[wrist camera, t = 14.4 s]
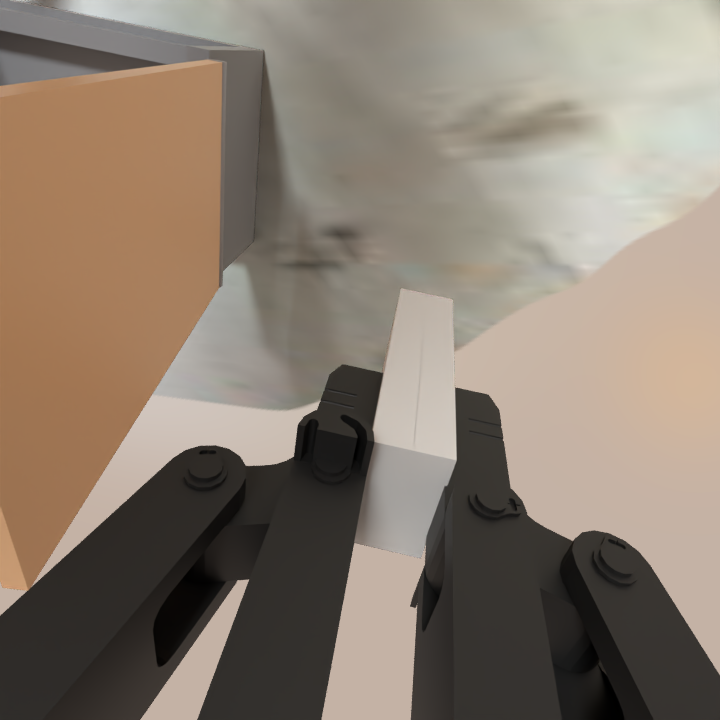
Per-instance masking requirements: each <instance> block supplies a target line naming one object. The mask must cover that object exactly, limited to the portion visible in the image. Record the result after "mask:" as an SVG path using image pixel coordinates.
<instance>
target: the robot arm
mask: <svg viewBox="0 0 720 720" xmlns="http://www.w3.org/2000/svg"><path fill="white" fill-rule="evenodd" d="M354 543H357V544H361V545H366V546H370V547H374V548H378V549H383V550H387V551H391V552H396V553H400V554H404V555H409V556H413V557H417V558H421V556H422V553H423V551H424V548H425V545H426V556H425V566H424V568H423V571H422V574H421V576H420V579H419V582H418V584H417V587H416V590H415V592H414V595H413V598H412V602H411V605H410V606H411V607H414V608H415V607H416V605H417V622H416V639H415V658H414V675H413V692H412V710H411V720H720V675H719V673H718V672H717V670H716V669H715V668H714V666H713V664H712V662H711V661H710V659H709V658H708V656H707V654H706V653H705V651H704V650H703V648H702V647H701V645H700V644H699V642H698V640H697V639H696V637H695V635H694V634H693V632H692V631H691V629H690V628H689V626H688V624H687V623H686V621H685V620H684V618H683V617H682V615H681V613H680V612H679V610H678V609H677V607H676V605H675V604H674V602H673V601H672V599H671V598H670V596H669V594H668V593H667V591H666V590H665V588H664V587H663V585H662V583H661V582H660V580H659V579H658V577H657V575H656V574H655V572H654V571H653V569H652V567H651V566H650V565H649V564H648V562H647V561H646V560H645V559H644V558H643V556H642V555H641V554H640V553H639V552H638V551H637V550H636V549H635V548H633V547H632V546H631V545H629V544H628V543H627V542H626V541H624V540H622V539H620V538H617V537H616V536H613V535H611V534H609V533H604V532H599V531H588V532H582V533H581V534H580V535H579V536H578V537H577V538H575V539H574V541H571V540H569V539H567V538H565V537H563V536H561V535H559V534H557V533H555V532H553V531H551V530H549V529H547V528H545V527H543V526H542V525H540V524H538V523H537V522H535V521H534V520H533V519H531V518H530V517H529V516H528V515H527V512H526V509H525V507H524V504H523V502H522V500H521V499H520V498H519V497H518V496H517V494H516V493H515V492H514V491H513V490H512V489H511V488H510V482H509V475H508V469H507V461H506V454H505V447H504V441H503V433H502V428H501V419H500V413H499V409H498V408H497V406H496V405H495V403H494V402H493V400H492V399H491V398H490V396H489V395H487V394H483V393H478V392H473V391H469V390H464V389H460V388H455V367H454V323H453V299H449V298H445V297H440V296H435V295H431V294H426V293H421V292H416V291H412V290H407V289H402V288H401V289H400V294H399V298H398V303H397V307H396V312H395V316H394V320H393V325H392V329H391V334H390V338H389V343H388V347H387V352H386V356H385V360H384V365H383V370H382V373H380V372H375V371H371V370H366V369H362V368H357V367H353V366H348V365H341V366H340V367H339V368H337V369H336V370H335V371H334V372H332V373H331V374H330V376H329V379H328V381H327V384H326V387H325V391H324V392H323V395H322V398H321V402H320V404H319V406H318V409H317V410H315V411H313V412H311V413H310V414H308V415H306V416H304V417H303V419H302V420H301V421H300V423H299V424H298V428H297V437H296V445H295V453H294V457H293V458H291V459H289V460H287V461H285V462H282V463H279V464H274V465H265V466H245V464H244V462H243V461H242V459H241V457H240V456H238V455H237V454H236V453H234V452H233V451H231V450H230V449H227V448H223V447H219V446H198V447H195V448H191V449H188V450H185V451H183V452H182V453H180V454H179V455H177V456H176V457H174V458H173V459H172V460H171V461H169V462H168V463H167V464H166V465H165V466H164V467H163V468H162V469H161V470H160V471H158V472H157V474H155V475H154V476H153V477H152V478H151V479H150V480H149V481H148V482H147V483H145V484H144V485H143V486H142V487H141V488H140V489H139V490H138V491H137V492H136V493H134V494H133V495H132V496H131V497H130V498H129V499H128V500H127V501H126V502H125V503H123V504H122V505H121V506H120V507H119V508H118V509H117V510H116V511H115V512H114V513H112V514H111V515H110V516H109V517H108V518H107V519H106V520H105V521H104V522H103V523H101V524H100V525H99V526H98V527H97V528H96V529H95V530H94V531H93V532H92V533H90V535H88V536H87V537H86V538H85V539H84V540H83V541H82V542H81V543H80V544H79V545H77V546H76V547H75V548H74V549H73V550H72V551H71V552H70V553H69V554H68V555H66V556H65V557H64V558H63V559H62V560H61V561H60V562H59V563H58V564H56V565H55V566H54V567H53V568H52V569H51V570H50V571H49V572H48V573H47V574H46V575H44V576H43V577H42V578H41V579H40V580H39V581H38V582H37V583H36V584H35V585H33V586H32V587H31V588H30V589H29V590H28V591H27V592H26V593H25V594H24V595H23V596H21V597H20V598H19V599H18V600H17V601H16V602H15V603H14V604H13V605H12V606H10V607H9V609H7V610H6V611H5V612H4V613H3V614H2V615H1V616H0V720H140V719H141V718H142V716H143V715H144V713H145V712H146V711H147V709H148V708H149V706H150V705H151V704H152V702H153V701H154V699H155V698H156V696H157V695H158V694H159V692H160V691H161V689H162V688H163V686H164V685H165V684H166V682H167V681H168V679H169V678H170V676H171V675H172V674H173V672H174V671H175V669H176V668H177V666H178V665H179V664H180V662H181V661H182V659H183V658H184V657H185V655H186V654H187V652H188V651H189V649H190V648H191V647H192V645H193V644H194V642H195V641H196V639H197V638H198V637H199V635H200V634H201V632H202V631H203V629H204V628H205V627H206V625H207V624H208V622H209V621H210V619H211V618H212V617H213V615H214V614H215V612H216V611H217V609H218V608H219V606H220V605H221V604H222V602H223V601H224V599H225V598H226V597H227V595H228V594H229V592H230V591H231V589H232V588H233V586H234V585H235V584H236V582H237V580H246V579H249V582H248V584H247V587H246V590H245V593H244V596H243V598H242V601H241V603H240V606H239V609H238V611H237V614H236V617H235V620H234V622H233V625H232V628H231V630H230V633H229V636H228V638H227V641H226V644H225V646H224V649H223V652H222V655H221V658H220V660H219V663H218V665H217V668H216V671H215V673H214V676H213V679H212V682H211V684H210V687H209V690H208V692H207V695H206V698H205V700H204V703H203V706H202V709H201V711H200V714H199V717H198V719H197V720H321V717H322V712H323V707H324V702H325V697H326V691H327V686H328V681H329V675H330V670H331V664H332V659H333V653H334V648H335V643H336V638H337V632H338V627H339V621H340V616H341V610H342V605H343V600H344V594H345V588H346V584H347V578H348V573H349V568H350V562H351V557H352V551H353V546H354ZM417 603H418V604H417Z"/></svg>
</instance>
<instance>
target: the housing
mask: <svg viewBox="0 0 720 720" xmlns="http://www.w3.org/2000/svg"><path fill="white" fill-rule="evenodd" d="M263 56H264V51H263V50H258V49H254V48H249V47H244V46H239V45H234V44H229V43H224V42H219V41H214V40H209V39H204V38H199V37H194V36H189V35H184V34H179V33H174V32H170V31H165V30H160V29H155V28H150V27H145V26H140V25H135V24H130V23H125V22H120V21H115V20H110V19H105V18H100V17H95V16H90V15H86V14H81V13H76V12H71V11H66V10H61V9H56V8H51V7H46V6H41V5H36V4H31V3H26V2H21V1H16V0H0V86H4V85H11V84H19V83H27V82H35V81H43V80H51V79H58V78H66V77H74V76H82V75H90V74H98V73H106V72H113V71H121V70H129V69H137V68H145V67H153V66H160V65H168V64H176V63H184V62H192V61H200V60H207V59H215V60H220V61H225V62H227V67H226V121H225V175H224V228H223V270H225V269H226V268H227V267H228V266H229V265H230V264H231V263H232V262H233V261H234V260H235V259H236V258H237V257H238V256H239V255H240V254H241V253H242V252H243V251H244V250H245V249H246V248H247V247H248V246H249V245H250V244H251V243H252V242H253V241H254V226H255V207H256V188H257V169H258V150H259V131H260V112H261V93H262V75H263Z"/></svg>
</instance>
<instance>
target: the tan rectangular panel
mask: <svg viewBox="0 0 720 720" xmlns="http://www.w3.org/2000/svg"><path fill="white" fill-rule="evenodd" d="M226 67H227V62H225V61H220V60H215V59H207V60H200V61H192V62H184V63H176V64H168V65H160V66H153V67H145V68H137V69H129V70H121V71H113V72H106V73H98V74H90V75H82V76H74V77H66V78H58V79H51V80H43V81H35V82H27V83H19V84H11V85H4V86H0V582H1V584H2V587H3V588H9V589H17V590H26V591H28V590H29V589H30V588H31V586H32V585H33V583H34V581H35V580H36V578H37V577H38V575H39V573H40V572H41V570H42V569H43V567H44V566H45V564H46V562H47V561H48V559H49V558H50V556H51V554H52V553H53V551H54V550H55V548H56V546H57V545H58V543H59V542H60V540H61V538H62V537H63V535H64V534H65V532H66V530H67V529H68V527H69V525H70V524H71V522H72V521H73V519H74V518H75V516H76V515H77V513H78V511H79V510H80V508H81V507H82V505H83V503H84V502H85V500H86V499H87V497H88V496H89V494H90V492H91V490H92V489H93V487H94V486H95V484H96V483H97V481H98V480H99V478H100V476H101V475H102V473H103V472H104V470H105V468H106V467H107V465H108V464H109V462H110V460H111V459H112V457H113V455H114V454H115V453H116V451H117V449H118V448H119V446H120V445H121V443H122V441H123V440H124V438H125V437H126V435H127V433H128V432H129V430H130V429H131V427H132V425H133V424H134V422H135V421H136V419H137V418H138V416H139V414H140V413H141V411H142V410H143V408H144V406H145V405H146V403H147V401H148V400H149V398H150V397H151V395H152V394H153V392H154V390H155V389H156V387H157V386H158V384H159V383H160V381H161V379H162V378H163V376H164V375H165V373H166V371H167V370H168V368H169V367H170V365H171V363H172V362H173V360H174V359H175V357H176V355H177V354H178V352H179V351H180V349H181V348H182V346H183V344H184V343H185V341H186V340H187V338H188V336H189V335H190V333H191V332H192V330H193V328H194V327H195V325H196V324H197V322H198V320H199V319H200V317H201V316H202V314H203V312H204V311H205V309H206V308H207V306H208V305H209V303H210V301H211V300H212V298H213V297H214V295H215V293H216V292H217V290H218V289H219V288H220V287H222V282H223V228H224V175H225V121H226Z"/></svg>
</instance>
